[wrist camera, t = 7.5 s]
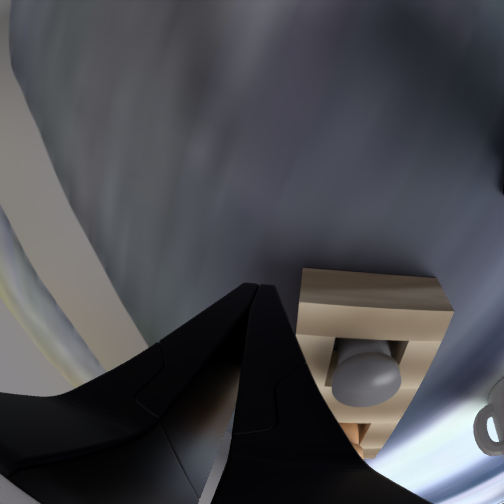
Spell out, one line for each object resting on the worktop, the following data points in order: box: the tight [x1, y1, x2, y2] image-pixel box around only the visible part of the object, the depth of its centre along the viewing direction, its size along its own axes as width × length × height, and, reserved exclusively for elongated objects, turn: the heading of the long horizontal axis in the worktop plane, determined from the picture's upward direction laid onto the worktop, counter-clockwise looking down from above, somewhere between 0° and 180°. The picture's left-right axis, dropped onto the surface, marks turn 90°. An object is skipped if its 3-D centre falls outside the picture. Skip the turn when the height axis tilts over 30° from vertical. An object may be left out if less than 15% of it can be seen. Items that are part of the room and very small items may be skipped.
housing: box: [296, 268, 454, 459], centre depth 24 cm, size 20×10×4 cm, turn 0°
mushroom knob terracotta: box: [339, 423, 363, 459], centre depth 24 cm, size 5×5×6 cm
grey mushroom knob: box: [332, 337, 401, 407], centre depth 20 cm, size 5×5×6 cm
